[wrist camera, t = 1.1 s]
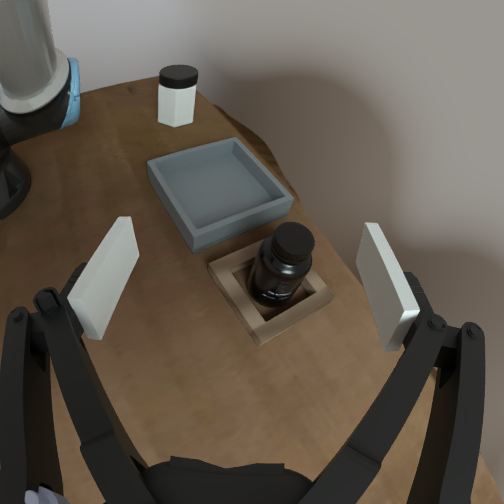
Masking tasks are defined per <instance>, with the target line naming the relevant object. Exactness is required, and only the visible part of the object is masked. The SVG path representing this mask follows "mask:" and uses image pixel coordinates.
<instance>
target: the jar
mask: <svg viewBox="0 0 504 504" xmlns="http://www.w3.org/2000/svg"><path fill="white" fill-rule="evenodd" d="M197 79H198V70H197V69H196V68H194V67H191V66H188V65H172V66H167V67H164V68H163V69H161V70H160V75H159V88H158V122H160V123H163V124H166V125H169V126H172V127H178V126H182V125H186V124H189V123H192V122H193V114H194V103H195V93H196V84H197Z"/></svg>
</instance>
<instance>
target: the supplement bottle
mask: <svg viewBox="0 0 504 504" xmlns="http://www.w3.org/2000/svg"><path fill="white" fill-rule="evenodd" d="M314 243H315V241H314V237H313V235H312V233H311V232H310V231H309V229H307V228H306V227H305V226H303V225H301V224H300V223H296V222H284V223H282V224H281V225H279V226H278V228H277V229H276V231H275V233H274V234H272V235H270V236H268V237H267V238H265V239H264V241H263V242H262V243H261V245H260V247H259V250H258V252H257V255H256V258H255V260H254V263H253V266H252V268H251V271H250V274H249V276H248V280H247V288H248V291H249V294H250V295H251V297H252V298H253V299H254V300H255V301H256V302H257V303H259V304H260V305H262V306H265V307H270V308H276V307H280V306H283V305H285V304H286V303H287V302H288V301H289V300H290V299H291V298H292V296H293V295H294V293H295V292H296V290H297V289H298V287H299V286H300V285H301V283H302V282H303V280H304V279H305V277H306V276H307V274H308V273H309V271H310V269H311V266H312V254H311V252H312V250H313V249H314V246H315V244H314Z"/></svg>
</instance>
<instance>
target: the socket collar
mask: <svg viewBox="0 0 504 504" xmlns="http://www.w3.org/2000/svg"><path fill="white" fill-rule="evenodd" d="M263 241H264V239H263V240H260V241H258V242H256V243H254V244H251V245H249V246H247V247H244V248H242V249H240V250H238V251H235V252H233V253H231V254H229V255H226V256H224V257H222V258H220V259H217V260H215V261H213V262H211V263H209V264H208V272H209V274H210V275H211V277H212V278H213V280H214V281H215V283H216V285H217V286H218V288H219V289H220V291H221V292H222V294H223V295H224V297H225V298H226V300H227V301H228V303H229V304H230V306H231V307H232V309H233V310H234V312H235V313H236V315H237V316H238V318H239V319H240V321H241V322H242V324H243V325H244V327H245V328H246V330H247V331H248V333H249V334H250V336H251V337H252V339H253V340H254V342H255V343H256V344H257V346H258V347H260V346H262V345H263V344H265V343H267V342H268V341H270V340H272V339H273V338H275V337H277V336H278V335H280V334H281V333H283V332H285V331H286V330H288V329H290V328H291V327H293V326H294V325H296V324H298V323H299V322H301V321H302V320H304V319H305V318H307V317H309V316H310V315H312V314H313V313H315V312H316V311H318V310H319V309H321V308H322V307H324V306H325V305H327V304H328V303H330V302H331V301H332V299H333V298H334V297H335V296H334V295H333V293H332V292H331V291H330V289H329V288H328V287H327V286H326V284H325V283H324V282H323V281H322V279H321V278H320V277H319V276H318V274H317V273H316V272H315V271H314V269H313V268H312V267H311V269H310V271H309V273H308V274H307V276H306V277H305V279H304V280H303V282H302V283H301V285H302V286H303V287H304V288H305V290H306V291H307V292H308V294H309V295H310V296H309V297H308V298H306V299H304V300H303V301H301V302H300V303H298V304H296V305H295V306H293V307H291V308H289V309H288V310H286V311H284V312H283V313H281V314H279V315H278V316H276V317H274V318H272V319H271V320H269V321H267V322H265V321H264V319H263V318H262V316H261V315H260V314H259V312H258V311H257V309H256V308H255V306H254V305H253V304H252V302H251V301H250V299H249V298H248V296H247V295H246V293H245V292H244V291H243V289H242V288H241V286H240V285H239V283H238V282H237V280H236V279H235V278H234V276H233V275H232V273H235V272H237V271H239V270H241V269H243V268H245V267H247V266H249V265H251V264H253V263H254V260H255V258H256V255H257V252H258V250H259V247H260V245H261V243H262V242H263Z"/></svg>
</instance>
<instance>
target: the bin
mask: <svg viewBox="0 0 504 504" xmlns="http://www.w3.org/2000/svg"><path fill="white" fill-rule="evenodd" d="M147 174H148V180H149V181H150V183H151V185H152V187H153V188H154V190H155V192H156V193H157V195H158V197H159V199H160V200H161V202H162V204H163V205H164V207H165V209H166V210H167V212H168V214H169V215H170V217H171V219H172V220H173V222H174V224H175V225H176V227H177V229H178V230H179V232H180V234H181V235H182V237H183V238H184V240H185V242H186V243H187V245H188V247H189V248H190V250H191V251H192V253H193V254H194V253H196V252H199V251H201V250H203V249H206V248H208V247H210V246H213V245H215V244H218V243H220V242H222V241H225V240H227V239H229V238H232V237H234V236H237V235H239V234H241V233H244V232H246V231H249V230H251V229H253V228H256V227H258V226H261V225H263V224H266V223H268V222H270V221H273V220H275V219H278V218H280V217H283V216H285V215H288V212H289V210H290V207H291V205H292V202H293V200H294V198H293V197H292V196H291V195H290V193H289V192H288V191H287V190H286V189H285V188H284V187H283V186H282V185H281V184H280V183H279V181H278V180H277V179H276V178H275V177H274V176H273V175H272V174H271V173H270V172H269V171H268V170H267V169H266V168H265V166H264V165H263V164H262V163H261V162H260V161H259V160H258V159H257V158H256V157H255V156H254V155H253V154H252V153H251V152H250V151H249V150H248V149H247V148H246V147H245V146H244V145H243V144H242V143H241V142H240V141H239V139H238V138H237V137H234V138H230V139H225V140H221V141H217V142H213V143H209V144H205V145H202V146H198V147H194V148H190V149H187V150H183V151H180V152H176V153H173V154H169V155H166V156H162V157H159V158H156V159H153V160H149V161H147Z"/></svg>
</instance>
